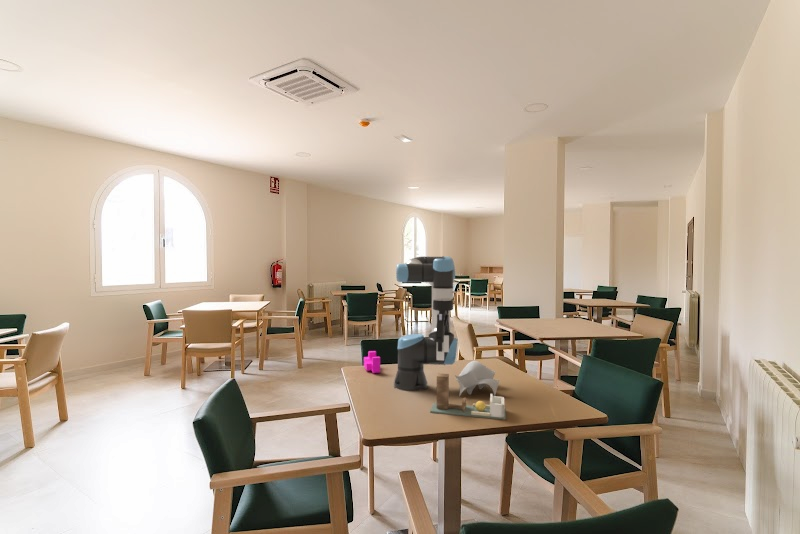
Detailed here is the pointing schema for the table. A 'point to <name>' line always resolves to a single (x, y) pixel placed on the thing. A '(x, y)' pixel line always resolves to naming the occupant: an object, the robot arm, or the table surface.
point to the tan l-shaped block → (446, 393)
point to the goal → (496, 406)
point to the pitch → (466, 411)
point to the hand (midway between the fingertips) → (442, 355)
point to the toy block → (372, 362)
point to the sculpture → (476, 377)
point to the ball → (480, 406)
